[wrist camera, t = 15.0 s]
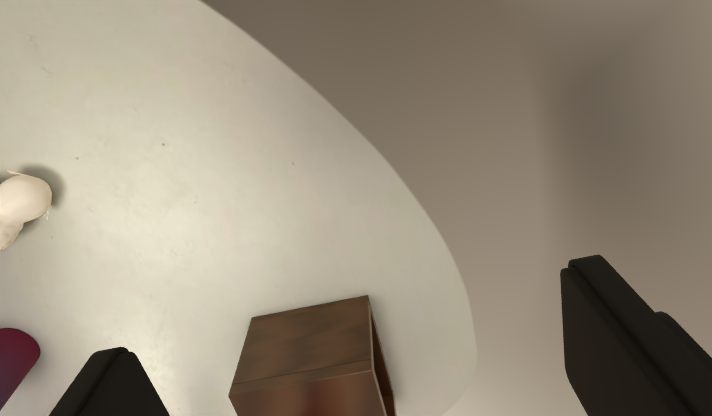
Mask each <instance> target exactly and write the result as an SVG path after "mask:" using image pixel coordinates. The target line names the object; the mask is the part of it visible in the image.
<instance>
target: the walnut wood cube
mask: <svg viewBox="0 0 712 416" xmlns="http://www.w3.org/2000/svg"><path fill="white" fill-rule="evenodd" d="M228 396H229V398H230V400H231V403H232V405H233V407H234V409H235V411H236V413H237V415H238V416H397V415H396V406H395V396H394V393H393V389H392V385H391V381H390V377H389V374H388V370H387V366H386V362H385V358H384V355H383V351H382V347H381V343H380V340H379V336H378V332H377V328H376V324H375V321H374V317H373V313H372V309H371V305H370V302H369V298H368V296H362V297H357V298H352V299H347V300H342V301H337V302H331V303H326V304H321V305H316V306H311V307H306V308H300V309H295V310H290V311H285V312H280V313H275V314H269V315H264V316H259V317H254V318H252V319H251V322H250V326H249V329H248V332H247V336H246V339H245V342H244V346H243V349H242V352H241V356H240V359H239V362H238V366H237V369H236V372H235V376H234V379H233V382H232V385H231V389H230V392H229V395H228Z"/></svg>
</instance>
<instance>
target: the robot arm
mask: <svg viewBox="0 0 712 416" xmlns="http://www.w3.org/2000/svg"><path fill="white" fill-rule="evenodd" d="M560 277H561V297H562V316H563V317H562V318H563V337H564V357H565V369H566V373H567V377H568V379H569V382H570V384H571V386H572V388H573V389H574V391H575V393H576V395H577V397H578V398H579V400H580V402H581V404H582V406H583V407H584V409H585V411H586V413H587V414H588V416H712V358H711V357H710V356H709V355H708V354H707V353H706V352H705V351H704V350H703V349H702V348H701V347H700V346H699V345H698V344H697V343H696V342H695V341H694V339H693V338H691V336H690V335H689V334H688V333H686V331H685V330H684V329H683V328H682V327H681V326H680V325H679V324H678V323H677V322H676V321H675V320H674V319H673V318H672V317H671V316H669V315H668V314H666V313H664V312H654V311H653V310H652V309H651V308H650V307H649V306H648V305H647V304H646V302H645V301H644V300H643V299H642V298H641V297H640V296H639V295H638V294H637V293H636V292H635V291H634V290H633V289H632V288H631V286H629V284H627V282H626V281H625V280H624V279H623V278H622V277H621V276H620V275H619V274H618V273H617V272H616V270H615V269H614V268H613V267H612V266H611V265H610V264H609V263H608V262H607V261H606V260H605V259H604V258H603V257H602V256H600V255H594V256H588V257H583V258H578V259H573V260H570V261H569V264H568V268H565V269H562V270H561V273H560ZM49 416H170V415H169V413H168V412H167V410H166V408H165V406H164V404H163V403H162V401H161V399H160V397H159V395H158V394H157V392H156V390H155V388H154V386H153V385H152V383H151V381H150V379H149V377H148V376H147V374H146V372H145V370H144V368H143V367H142V365H141V363H140V361H139V359H138V358H137V356H136V355H135V353H133V352H129V351H128V350H127V349H126V348H124V347H117V348H112V349H107V350H102V351H97V352H95V353H94V354H93V355H92V356H91V357H90V358H89V359H88V361H87V362H86V364H85V365H84V367H83V368H82V369H81V371H80V372H79V374H78V375H77V376H76V378H75V379H74V381H73V382H72V384H71V385H70V386H69V388H68V389H67V391H66V392H65V393H64V395H63V396H62V398H61V399H60V400H59V402H58V403H57V405H56V406H55V408H54V409H53V410H52V412H51V413H50V415H49Z"/></svg>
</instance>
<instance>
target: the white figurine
mask: <svg viewBox="0 0 712 416" xmlns="http://www.w3.org/2000/svg"><path fill="white" fill-rule="evenodd" d="M7 171H8V172H11V173H10V174H14V175H17V176H15V177H12V178H9V179H7V180H5V181H4V182H2V183H1V184H0V250H4V249H6V248H7V247H8V246H9V245H10V244H11V243H13V242H14V240H15V238H16V237H17V235H18V234H19V232H20V231H21V230H22V228H23V224H24V222H27V221H31V220H33V219H36V218H38V217H39V216H41V215H42V214H44V213H45V216H46V212H47V219H48V216H49V207H50V205H51V199H52V192H51V189H50V186H49V185H48V184H47V183H46V182H45V181H43V180H41V179H39V178H35V177H32V176H29V175H26V174H23V173H22V174H21V173H17V172H13V171H9V170H7ZM47 222H48V221H47Z"/></svg>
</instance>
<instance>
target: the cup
mask: <svg viewBox="0 0 712 416" xmlns="http://www.w3.org/2000/svg"><path fill="white" fill-rule="evenodd" d="M39 355H40V349H39V347H38V345H37V343H36V342H35V340H34V339H33V338H32V337H30V336H29V335H27V334H26V333H24V332H22V331H19V330H16V329H10V328H8V329H0V410H1V409H2V407H3V406H4V405H5V403H6V402H7V401H8V399H9V398H10V397H11V395H12V394H13V393H14V391H15V390H16V388H17V387H18V386H19V384H20V383H21V382H22V380H23V379H24V378H25V376H26V375H27V373H28V372H29V371H30V369H31V368H32V367H33V365H34V364H35V363H36V361H37V360H38V358H39Z"/></svg>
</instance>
